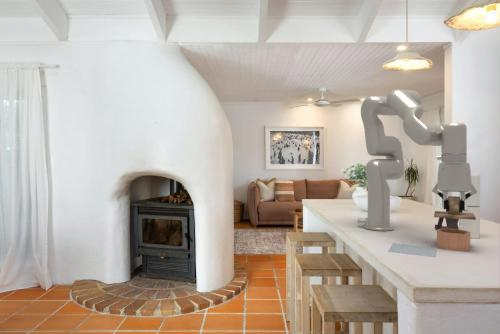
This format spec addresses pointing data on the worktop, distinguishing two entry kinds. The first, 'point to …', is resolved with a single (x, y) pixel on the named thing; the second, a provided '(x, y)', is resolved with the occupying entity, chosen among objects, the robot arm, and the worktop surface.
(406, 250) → the slate mat
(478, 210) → the cylindrical container
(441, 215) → the square wooden lid
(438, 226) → the portable electronic device stand
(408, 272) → the worktop surface
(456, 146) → the robot arm
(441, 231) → the terracotta bowl
